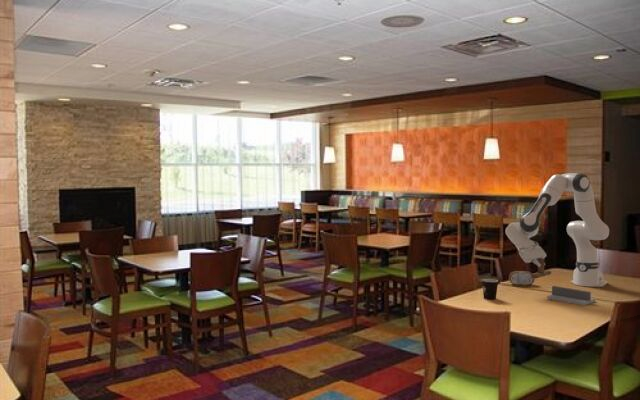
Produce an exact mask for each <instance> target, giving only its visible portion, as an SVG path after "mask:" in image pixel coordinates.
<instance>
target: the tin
mask: <svg viewBox="0 0 640 400" xmlns="http://www.w3.org/2000/svg"><path fill="white" fill-rule="evenodd" d="M531 274H533V273H532V272H531V271H527V270H525V271H524V270H522V271H521V270H515V271H511V272H510V273H509V275H508V281H509V282H510V283H511V284H512V285H515V286H531V285H533V283H534V282H535V279H534V278H531Z"/></svg>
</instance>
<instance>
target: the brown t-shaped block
mask: <svg viewBox="0 0 640 400" xmlns="http://www.w3.org/2000/svg"><path fill="white" fill-rule="evenodd" d="M537 261H538V262H539V263H541V264H542V266H541V267H538V266H537V272H535V273H532V274H531V278H534V279H538V278H542V277H546V276H549V275H551V274H552V270H548V269H545V265H544V263H545V258H544V259H543V258H539V259H538V260H537Z"/></svg>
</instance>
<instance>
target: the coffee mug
mask: <svg viewBox="0 0 640 400" xmlns="http://www.w3.org/2000/svg"><path fill="white" fill-rule="evenodd" d="M498 283H499V280H498V279H493V278H483V279H482V280H481V286H482V294H483V299H484V300H488V301H489V300H490V301H494V300H495V301H496V300H497V295H498V294H497V293H498V287H499V286H498Z"/></svg>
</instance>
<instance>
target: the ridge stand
mask: <svg viewBox="0 0 640 400" xmlns="http://www.w3.org/2000/svg"><path fill="white" fill-rule="evenodd" d="M547 298H548V300H551V299H552V300H551V301H558V302H564V303H569V304H574V305H580V306H587V305H590V304H592V303H594V302H596V298H593V297H592V292H591V291H586V290H581V289H574V288H568V287H562V286H555V285H552V286H551V294H549V295H547V296H546V299H547Z"/></svg>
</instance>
